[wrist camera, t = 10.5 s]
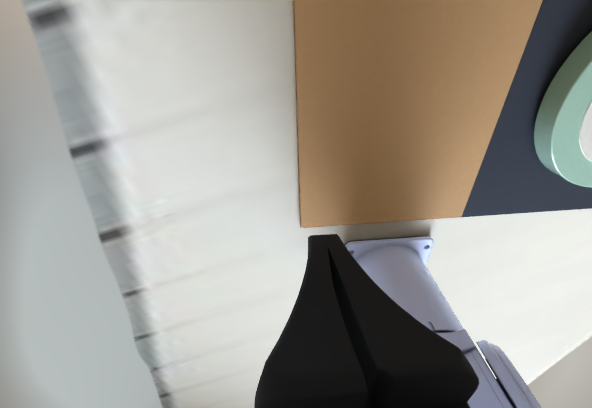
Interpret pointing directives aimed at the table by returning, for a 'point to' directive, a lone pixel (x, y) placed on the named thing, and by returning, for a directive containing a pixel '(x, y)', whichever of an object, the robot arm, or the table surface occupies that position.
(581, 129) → the plate
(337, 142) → the desk mat
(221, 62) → the table surface
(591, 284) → the table surface
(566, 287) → the table surface
